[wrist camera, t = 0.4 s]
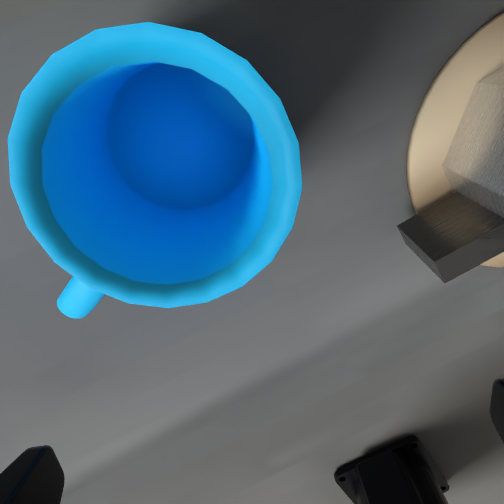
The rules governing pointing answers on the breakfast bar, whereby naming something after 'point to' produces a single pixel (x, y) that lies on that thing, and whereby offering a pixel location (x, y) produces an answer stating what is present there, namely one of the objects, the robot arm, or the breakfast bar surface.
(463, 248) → the grey piece
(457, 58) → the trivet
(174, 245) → the mug
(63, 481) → the robot arm
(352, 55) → the breakfast bar surface
